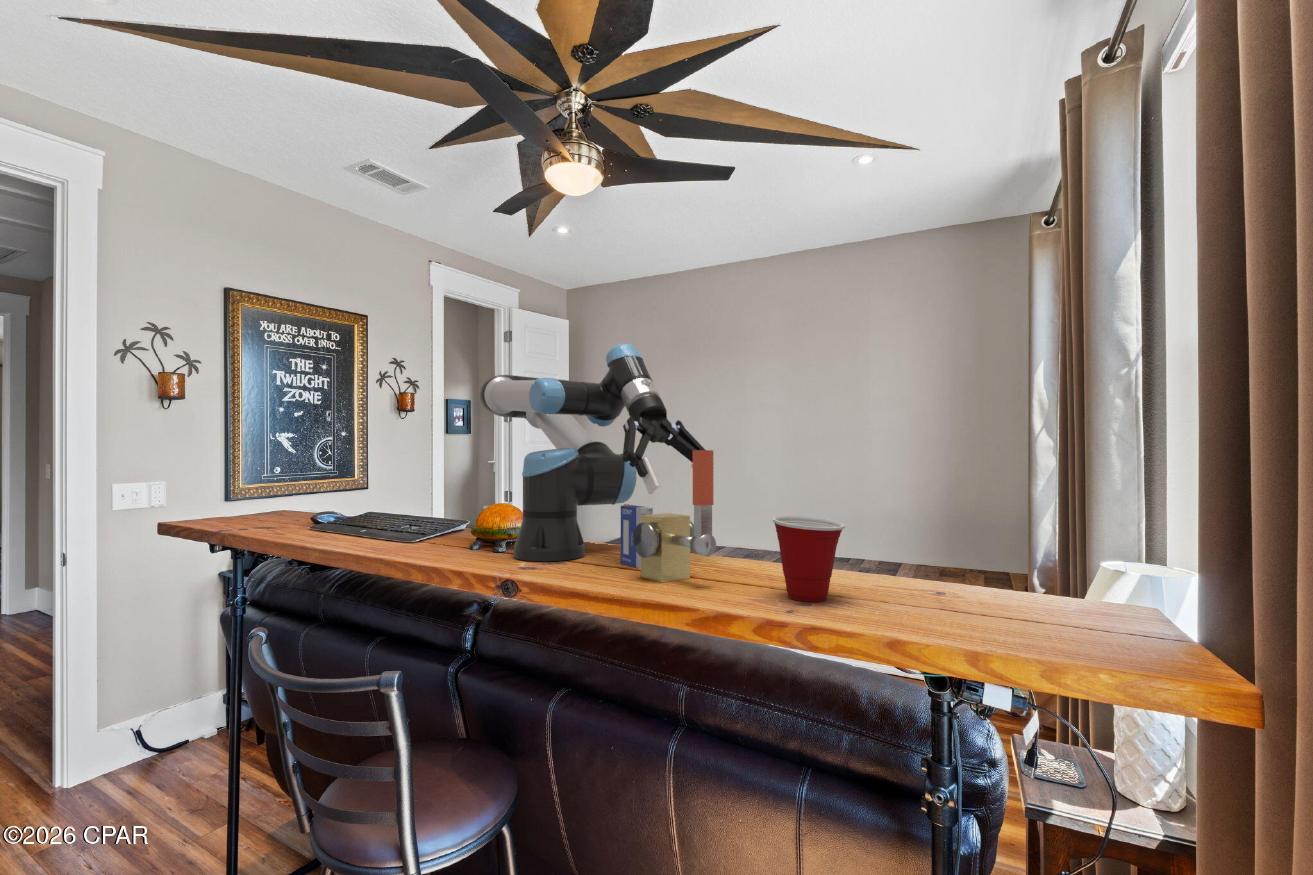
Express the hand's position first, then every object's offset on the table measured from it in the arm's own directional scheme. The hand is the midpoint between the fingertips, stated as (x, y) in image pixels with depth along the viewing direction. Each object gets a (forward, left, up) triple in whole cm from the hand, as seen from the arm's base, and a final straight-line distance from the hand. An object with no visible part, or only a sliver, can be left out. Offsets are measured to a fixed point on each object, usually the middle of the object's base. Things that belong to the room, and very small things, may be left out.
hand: (682, 489), depth 111 cm
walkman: (-9, -5, -16) cm, 18 cm away
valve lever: (+14, -7, -10) cm, 19 cm away
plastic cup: (+29, +1, -16) cm, 33 cm away
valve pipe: (+7, -7, -15) cm, 18 cm away
